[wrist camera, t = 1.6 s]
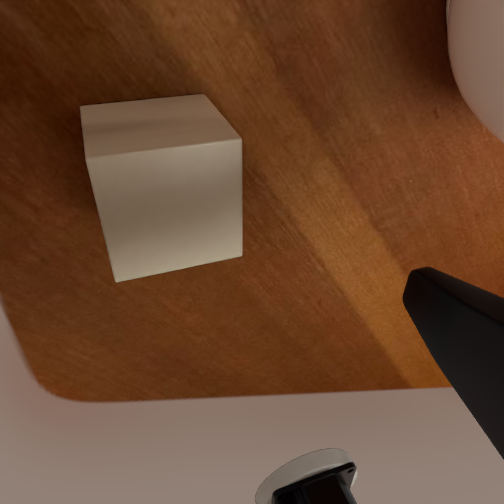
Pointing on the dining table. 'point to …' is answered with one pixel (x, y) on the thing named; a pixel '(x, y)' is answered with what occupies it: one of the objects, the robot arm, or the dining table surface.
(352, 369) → the dining table surface
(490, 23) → the trinket box
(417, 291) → the robot arm
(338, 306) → the dining table surface
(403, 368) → the dining table surface
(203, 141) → the block
